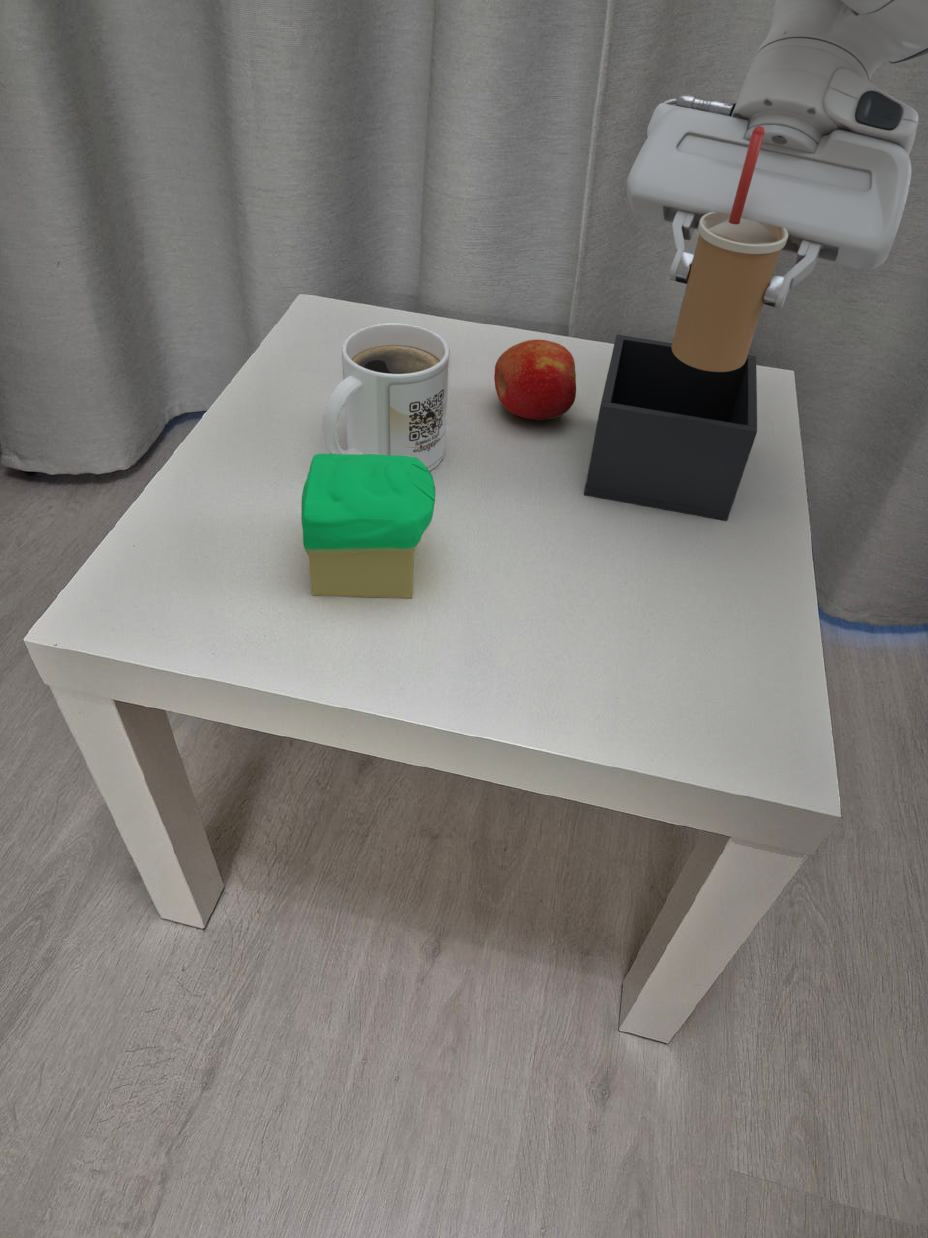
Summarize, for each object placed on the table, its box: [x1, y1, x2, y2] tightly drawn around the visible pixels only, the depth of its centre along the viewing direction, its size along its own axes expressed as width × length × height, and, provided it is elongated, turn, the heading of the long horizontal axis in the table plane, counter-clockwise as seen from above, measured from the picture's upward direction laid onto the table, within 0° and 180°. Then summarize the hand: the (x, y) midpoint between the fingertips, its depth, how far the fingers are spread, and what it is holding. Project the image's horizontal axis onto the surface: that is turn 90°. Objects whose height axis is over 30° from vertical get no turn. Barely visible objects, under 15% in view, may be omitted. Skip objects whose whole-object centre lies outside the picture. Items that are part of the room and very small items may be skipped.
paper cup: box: [671, 126, 788, 372], centre depth 65 cm, size 6×6×16 cm
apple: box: [493, 339, 577, 421], centre depth 91 cm, size 8×8×8 cm
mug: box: [322, 322, 450, 472], centre depth 83 cm, size 10×12×11 cm
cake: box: [300, 452, 436, 599], centre depth 72 cm, size 10×11×10 cm
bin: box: [583, 334, 758, 521], centre depth 84 cm, size 14×14×10 cm
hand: (725, 291), depth 67 cm, fingers closed on paper cup, 6 cm apart
